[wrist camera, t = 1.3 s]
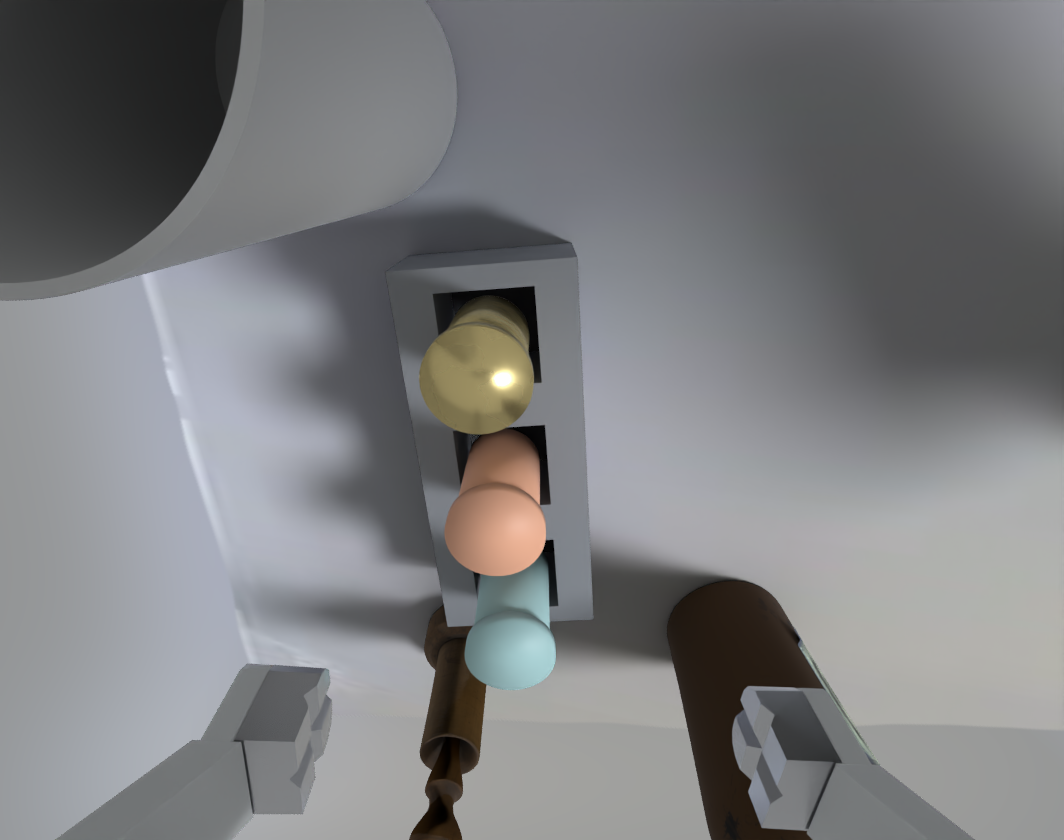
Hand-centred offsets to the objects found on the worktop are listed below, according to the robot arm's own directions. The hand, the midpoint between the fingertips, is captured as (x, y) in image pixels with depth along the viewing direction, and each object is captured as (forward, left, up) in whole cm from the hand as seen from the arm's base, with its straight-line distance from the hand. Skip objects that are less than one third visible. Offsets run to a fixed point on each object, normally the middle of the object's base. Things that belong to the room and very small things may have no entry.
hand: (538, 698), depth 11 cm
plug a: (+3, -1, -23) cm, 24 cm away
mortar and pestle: (+8, +25, -29) cm, 39 cm away
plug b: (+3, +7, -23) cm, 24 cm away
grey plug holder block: (+3, +7, -28) cm, 29 cm away
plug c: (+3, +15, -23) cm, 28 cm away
